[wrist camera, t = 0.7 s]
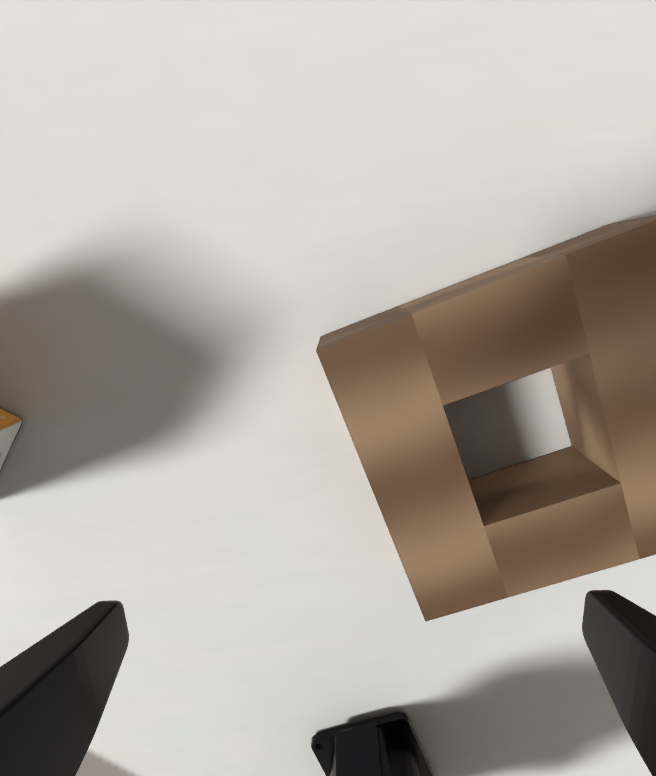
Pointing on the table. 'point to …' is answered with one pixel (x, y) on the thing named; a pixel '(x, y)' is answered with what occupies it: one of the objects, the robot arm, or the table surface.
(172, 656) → the table surface
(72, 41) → the table surface
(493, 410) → the table surface
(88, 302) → the table surface
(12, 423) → the small box
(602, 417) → the walnut socket block
